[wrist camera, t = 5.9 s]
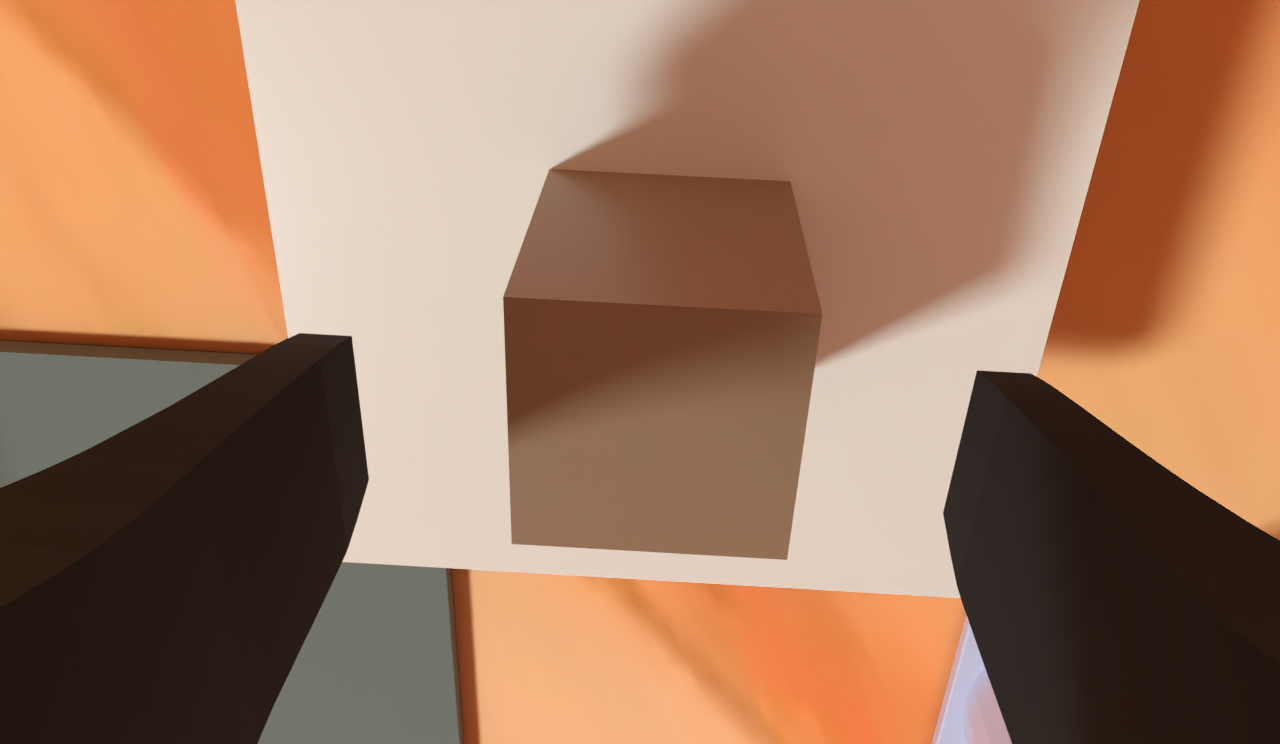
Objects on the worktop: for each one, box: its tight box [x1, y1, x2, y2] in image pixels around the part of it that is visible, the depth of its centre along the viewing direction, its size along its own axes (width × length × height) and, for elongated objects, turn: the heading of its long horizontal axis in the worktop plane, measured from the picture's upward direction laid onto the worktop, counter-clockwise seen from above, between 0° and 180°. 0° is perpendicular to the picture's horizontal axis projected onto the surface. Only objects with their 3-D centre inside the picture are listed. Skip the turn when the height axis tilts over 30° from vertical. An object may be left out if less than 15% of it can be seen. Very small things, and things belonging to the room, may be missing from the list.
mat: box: [0, 340, 464, 744], centre depth 26 cm, size 14×14×1 cm
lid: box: [235, 0, 1140, 598], centre depth 14 cm, size 12×12×5 cm
